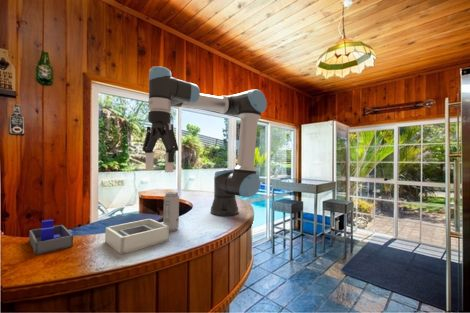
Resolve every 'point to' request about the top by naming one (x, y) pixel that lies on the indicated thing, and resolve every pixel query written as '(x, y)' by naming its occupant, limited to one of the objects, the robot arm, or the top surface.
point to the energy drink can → (171, 210)
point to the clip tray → (52, 244)
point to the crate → (136, 235)
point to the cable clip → (48, 231)
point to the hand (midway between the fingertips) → (158, 171)
